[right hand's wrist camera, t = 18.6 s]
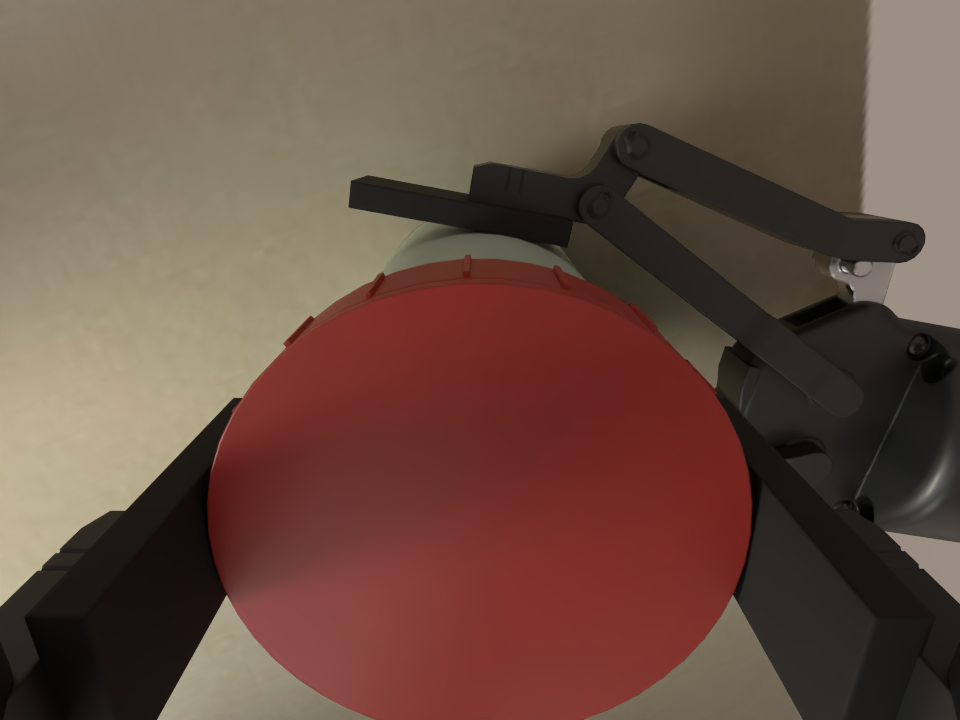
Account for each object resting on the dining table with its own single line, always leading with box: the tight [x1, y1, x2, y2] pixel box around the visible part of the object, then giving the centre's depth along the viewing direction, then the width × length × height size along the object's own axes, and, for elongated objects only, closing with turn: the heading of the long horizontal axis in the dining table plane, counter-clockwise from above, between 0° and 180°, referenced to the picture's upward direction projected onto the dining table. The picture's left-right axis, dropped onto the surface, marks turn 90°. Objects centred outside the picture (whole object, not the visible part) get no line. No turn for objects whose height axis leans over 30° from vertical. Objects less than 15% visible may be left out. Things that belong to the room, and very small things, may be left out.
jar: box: [380, 222, 585, 280], centre depth 18 cm, size 9×9×16 cm
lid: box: [207, 255, 753, 720], centre depth 11 cm, size 10×10×2 cm
